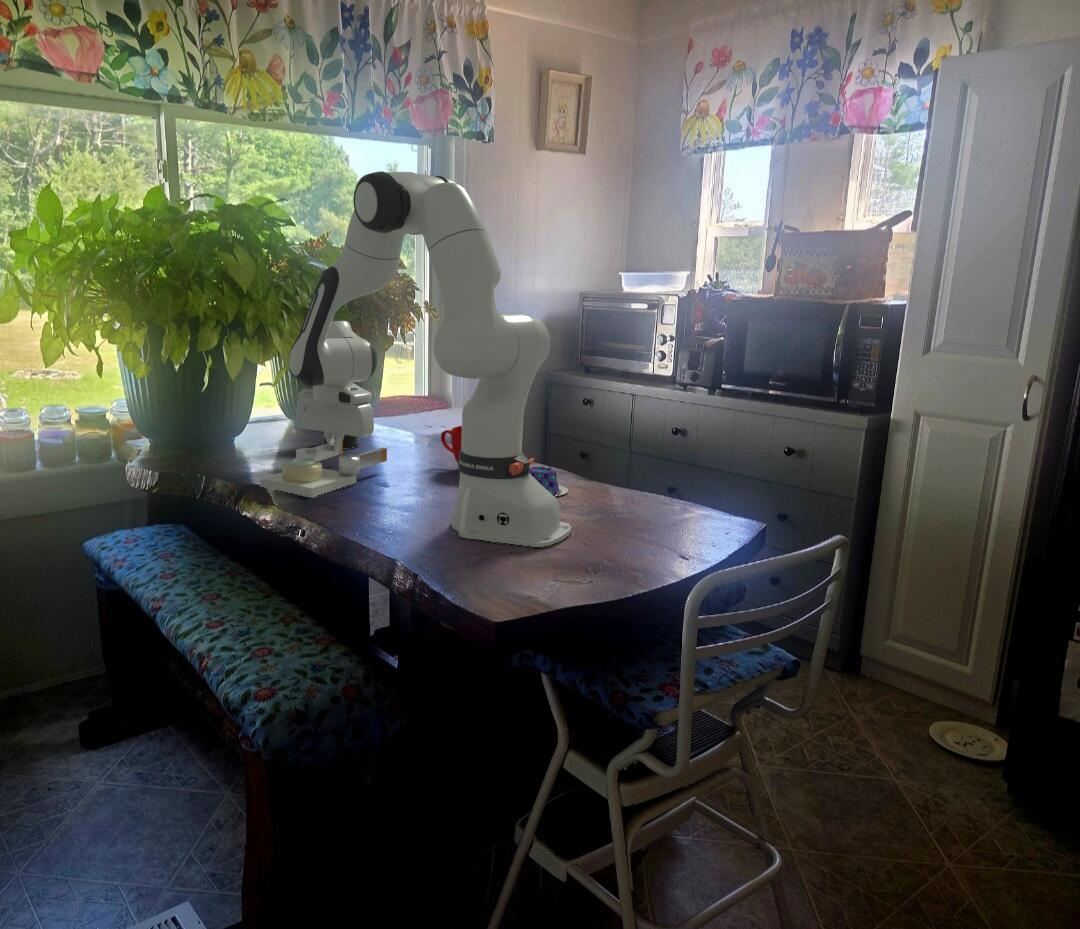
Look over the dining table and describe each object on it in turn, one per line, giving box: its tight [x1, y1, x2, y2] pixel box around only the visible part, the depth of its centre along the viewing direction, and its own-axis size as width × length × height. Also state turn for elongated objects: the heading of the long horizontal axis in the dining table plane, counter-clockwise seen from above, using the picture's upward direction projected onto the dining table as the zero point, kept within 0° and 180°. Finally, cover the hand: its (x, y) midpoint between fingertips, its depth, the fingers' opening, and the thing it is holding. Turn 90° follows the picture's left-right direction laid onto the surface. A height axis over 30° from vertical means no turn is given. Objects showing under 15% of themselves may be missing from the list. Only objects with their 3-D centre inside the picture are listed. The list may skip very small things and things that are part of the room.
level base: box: [259, 457, 357, 499], centre depth 172 cm, size 14×14×6 cm
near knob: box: [338, 447, 388, 476], centre depth 179 cm, size 15×4×4 cm, turn 154°
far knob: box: [295, 441, 344, 462], centre depth 185 cm, size 15×4×4 cm, turn 157°
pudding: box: [529, 466, 569, 497], centre depth 176 cm, size 12×12×5 cm
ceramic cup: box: [440, 425, 462, 464], centre depth 191 cm, size 13×17×10 cm
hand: (334, 451), depth 187 cm, fingers closed
